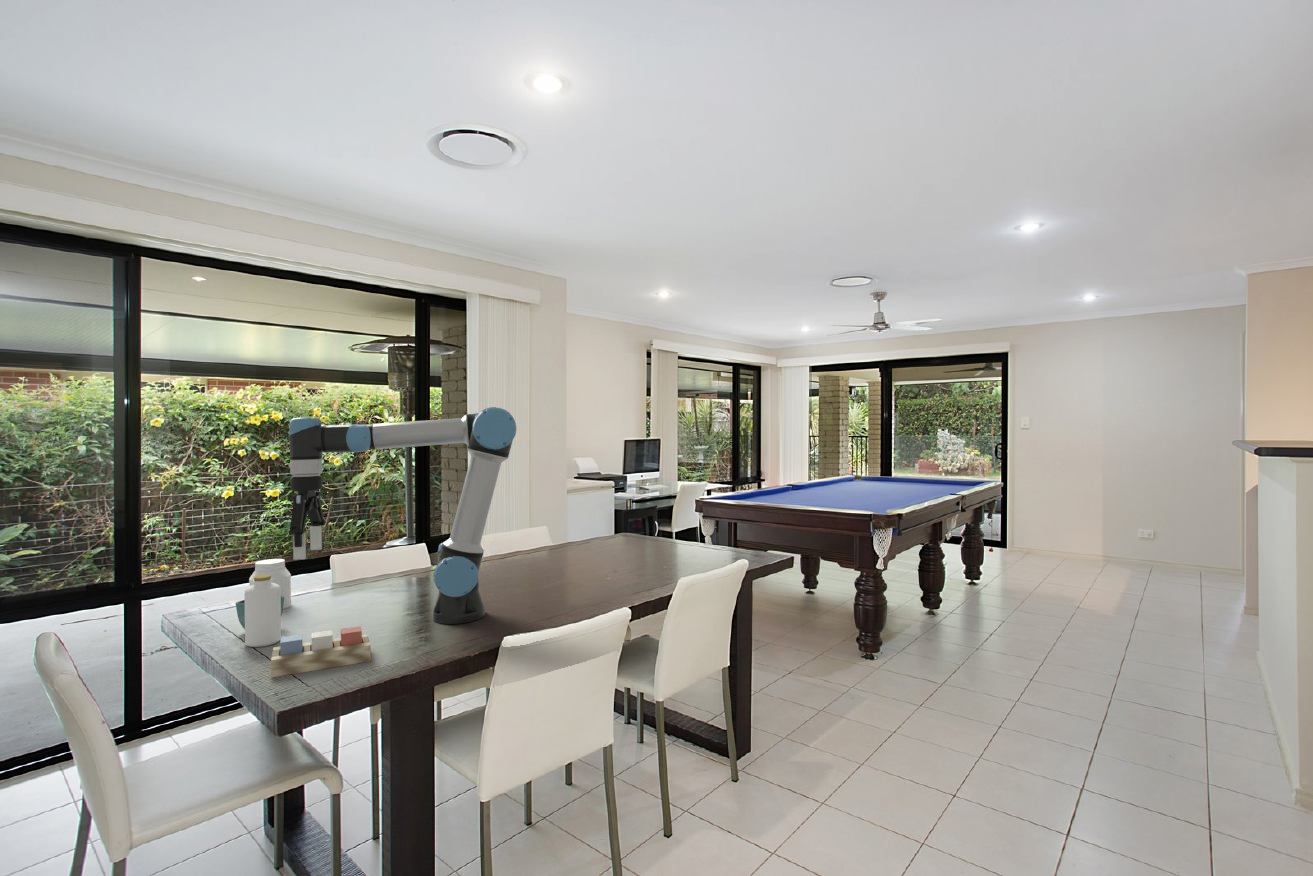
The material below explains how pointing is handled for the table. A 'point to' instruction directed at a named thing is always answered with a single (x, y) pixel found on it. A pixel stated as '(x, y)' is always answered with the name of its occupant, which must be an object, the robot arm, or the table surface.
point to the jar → (275, 576)
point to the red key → (351, 636)
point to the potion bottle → (262, 612)
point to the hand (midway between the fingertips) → (308, 554)
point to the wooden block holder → (320, 657)
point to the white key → (322, 640)
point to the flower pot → (241, 610)
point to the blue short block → (291, 645)
